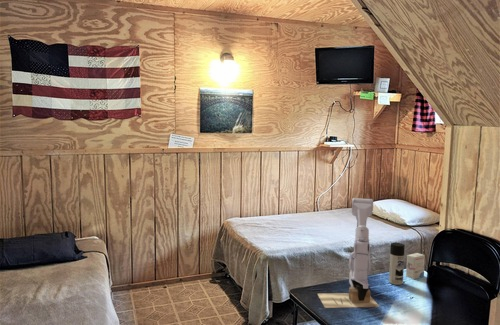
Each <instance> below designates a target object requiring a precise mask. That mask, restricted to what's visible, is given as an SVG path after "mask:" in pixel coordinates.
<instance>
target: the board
mask: <svg viewBox="0 0 500 325" xmlns="http://www.w3.org/2000/svg"><path fill="white" fill-rule="evenodd" d="M317 296H318V298H319V299H320V302H321V303H322V305H323V307H324V309H326V308H327V309H328V308H332V309H333V308H379V307H381V306H380V305H379V304H378V303H377V301H376V300H375V299H374V298H373V297H372V295H370V302H356V303H352V302H351V300H350V299H349V292H348V293H347V292H346V293H345V292H343V293H342V292H336V293H334V292H333V293H332V292H331V293H330V292H329V293H324V292H322V293H317Z"/></svg>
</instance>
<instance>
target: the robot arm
mask: <svg viewBox="0 0 500 325" xmlns="http://www.w3.org/2000/svg"><path fill="white" fill-rule="evenodd" d="M373 211H374V200H373V198H358V197H353V198H352V199H351V214H352V216H354V217H355V219H356V227H355V238H354V239H355V240H354V243H353V245H354V246H353V251H352V252H351V253H350V255H349V259H348V260H349V263H348V264H349V265H348V270H349V273H348V274H349V278H348V284H349V285H350V287H357V290H358V299H359V301H364V299H365V295H366V293H367V291H368V290H370V285H369V283H368V273H370V272H371V266H372V264H371V263H372V261H371V255H370V252H371V243H370V238H369V234H370V231H369V228H368V227H367V221H368V218H370V217H372V215H373Z"/></svg>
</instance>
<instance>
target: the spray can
mask: <svg viewBox="0 0 500 325" xmlns="http://www.w3.org/2000/svg"><path fill="white" fill-rule="evenodd" d="M405 247H406V246H405V244H403V243H401V242H397V241H396V242H391V243H390V250H389V251H390V252H389V269H388V270H389V271H388V272H389V273H388V274H389V275H388V282H389V283H390V284H391V285H394V286H401V285H403V283H404V271H405V270H404V269H405V268H404V266H405V265H404V264H405Z"/></svg>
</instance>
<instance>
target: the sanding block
mask: <svg viewBox="0 0 500 325" xmlns="http://www.w3.org/2000/svg"><path fill="white" fill-rule="evenodd" d="M348 293H349V299H350V300H351V302H352V303H356V302H370V296H371V290H370V289H369V290H368V291H367V293H366V295H365V299H364V301H359V299H358V290H357V287H351V286H349V288H348Z"/></svg>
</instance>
